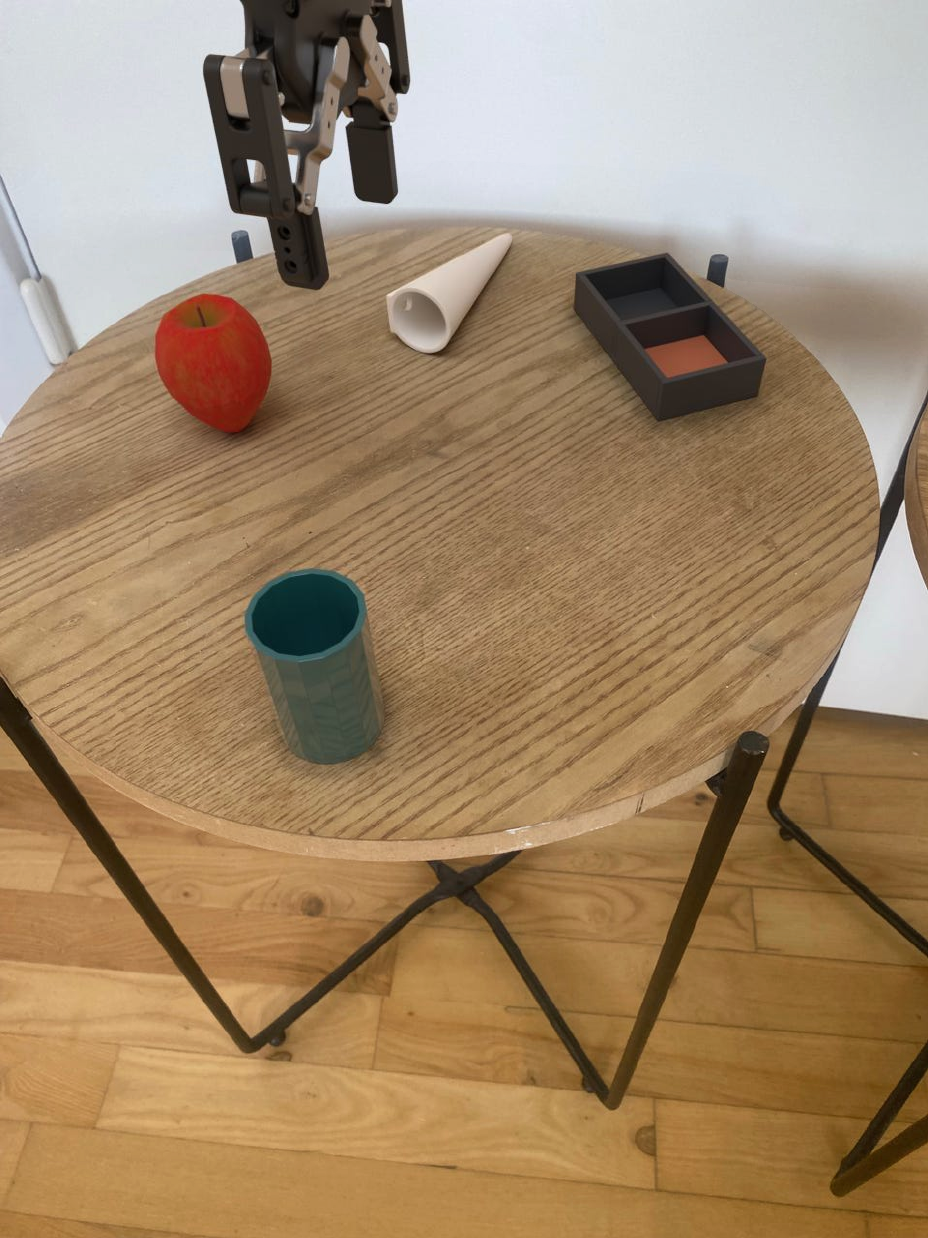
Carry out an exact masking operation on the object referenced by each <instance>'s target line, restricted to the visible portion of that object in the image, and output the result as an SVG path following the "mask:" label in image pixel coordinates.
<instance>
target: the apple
mask: <svg viewBox="0 0 928 1238" xmlns="http://www.w3.org/2000/svg"><path fill="white" fill-rule="evenodd" d="M268 343H269V342H268V341H267V339H266V336H265V335H264V333H263V330H262V329H261V326H260V324H259V322H258V320H257V319H256V318H255V317H254V316H253V314H252V313H250V312H249V311H248V310H247V308H245V307H244V306H242V305H241V304H240V303H239V302H238V301H236V300H235V299H234V298H233V297H229V296H225V295H221V294H213V293H200V294H198V295H194V296H191V297H189V298H188V299H186V300H184V301H181V302H180V303H178V304H177V305H176V306H174V307H173V308H171V309H170V310H168V311H167V312H165V313H163V315H162V318H161V320H160V323H159V326H158V327H157V329H156V331H155V335H154V361H155V364H156V365H155V366H156V368H157V372H158V376H159V377H160V380H161V382H162V383H163V385H164V387H165V389H166V390H167V391H168V393H169V395H170V396H171V397H172V398H173V399H174V400H175V401H176V403H178V404H179V405H180V406H181V407H182V408H183V409H184V410H186V412H187V413H189V414H190V415H191V416H193V417H194V418H196V419H197V420H199V421H200V422H202V423H204V424H206V425H207V426H209V427H212V428H213V429H217V430H219V431H221V432H224V433H228V434H233V433H239V432H240V431H242V430H244V429H246V427H248V425H249V424H250V423H251V421H252V419H253V418H254V416H255V415H256V413H257V412H258V410H259V408H260V406H261V404H262V403H263V401H264V399H265V397H266V395H267V392H268V390H269V385H270V382H271V378H272V370H273V369H272V368H273V367H272V366H273V365H272V364H273V360H272V356H271V352H270V347H269V344H268Z"/></svg>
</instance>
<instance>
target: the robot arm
mask: <svg viewBox="0 0 928 1238" xmlns="http://www.w3.org/2000/svg"><path fill="white" fill-rule="evenodd" d="M239 2H240V4H241V5H242V8H243V18H244V49H242V50H241V51H240V52H238V53H237V54H235V55H227V54H226V55H224V54H216V53H215V54H214V53H209V54H207V55H206V56H205V58H204V60H203V64H202V75H203V81H204V86H205V91H206V96H207V101H208V106H209V112H210V115H211V120H212V125H213V130H214V135H215V140H216V145H217V150H218V154H219V159H220V164H221V168H222V174H223V180H224V184H225V189H226V193H227V200H228V203H229V207H230V210H231V212H232V213H234V214H238V215H244V216H245V215H246V216H252V217H260V218H266V220H267V225H268V229H269V233H270V234H269V235H270V238H271V243H272V248H273V251H274V257H275V261H276V267H277V271H278V272H277V273H278V274H279V276H280V279H281V280H282V282H283V283H284V284H285V285H286V286H289V287H292V288H293V287H294V288H299V289H307V290H311V291H319V290H321V289H322V288H323V287H324V286H325V284H327V282H328V281H329V278H330V272H329V271H330V270H329V267H328V266H329V264H328V259H327V253H326V247H325V240H324V235H323V228H322V224H321V217H320V211H319V207H318V206H316V203H317V195H318V187H319V180H320V179H319V178H320V170H321V165H322V162H323V161H325V160H327V159H328V158H329V157H331V155H332V153H333V150H334V142H335V134H336V125H337V120H338V119H339V118H340V116H341V114H342V113H343V115H344V116H345V117H346V118H347V119H353V120H350V121H349V123H347V124H346V125H345V134H346V142H347V148H348V149H347V150H348V158H349V164H350V172H351V179H352V186H353V187H352V188H353V193H354V196H355V197H356V198H357V199H358V200H360V201H361V202H366V203H373V204H381V205H390V204H392V202H393V201H394V199H396V197H397V196H398V193H399V184H398V176H397V175H398V174H397V165H396V156H395V145H394V135H393V125H391V123H395V122H396V120H397V117H398V111H399V102H398V98H397V95H400V94H401V95H406V94H407V95H408V92H409V90H410V85H411V71H410V63H409V53H408V51H409V50H408V43H407V34H406V26H405V25H406V23H405V15H404V5H403V0H239ZM380 44H384V45H385V46H386V47H387V51H388V59H389V61H388V60H387V58H386V55H385V53H384V51H383V49H382V47H381V45H380ZM283 118H284V119H285V120H287V122H288V123H290V124H291V123H292V124H298V125H299V124H300V125H308V127H307V128H306V129H303V130H293V129H286V128H284V121H283ZM289 155H291V156H297V163H296V169H295V179H294V181H293V180H292V172H291V168H290V160H289ZM248 160H249V161H255V163H254V173H253V174H254V175H253V181H252V182H251V175H250V170H249V164H248Z"/></svg>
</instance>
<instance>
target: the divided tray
mask: <svg viewBox="0 0 928 1238" xmlns="http://www.w3.org/2000/svg"><path fill="white" fill-rule="evenodd" d="M573 310H574V312H575V313H576V314H577V315H578V318H580V320H581V321H582V322H583V324H584V325H585V326H586V327H587V329H588V331H589V332H590V333H591V334H592V335H593V337H594V339H595V340H596V341H597V342H598V344H599V345H600V346H601V348H602V349H603V351H605V353H606V354H607V356H608V357H609V358H610V360H611V361H612V362H613V364H614V365H615V367H616V368H617V369H618V370H619V372H620V373H621V374H622V375H623V377H624V378H625V379H626V381H627V382H628V384H629V385H630V386H631V388H632V389H633V390H634V391H635V393H636V394H637V396H638V397H639V398H640V400H641V401H642V402H643V403H644V405H645V406H646V407H647V409H648V410H649V411H650V413H651V414H652V415H653V417H654V418H655V419H656V421H657V422H662V421H665V420H670V419H673V418H676V417H681V416H684V415H688V414H693V413H696V412H700V411H704V410H708V409H712V408H716V407H720V406H724V405H728V404H731V403H736V402H740V401H744V400H748V399H751V398H757V397H758V396H759V392H760V388H761V387H760V386H761V384H762V380H763V375H764V371H765V367H766V363H767V362H766V361H767V357H766V356H765V354H763V352H761V351H760V349H759V348H758V347H757V346H756V345H755V344H754V343H753V342H752V340H751V339H749V338H748V337H747V335H745V333H744V332H743V331H742V330H741V329H740V327H738V325H737V324H736V323H735V322H734V321H733V320H731V318H730V317H729V316H728V314H726V313H725V312H724V310H723V309H722V308H721V307H719V306H718V304H716V302H715V301H714V300H713V299H712V298H711V297H710V296H709V295H708V294H707V292H705V290H704V289H703V288H702V287H701V286H700V285H699V284H698V283H697V282H696V281H695V280H694V279H693V278H692V277H691V276H690V275H689V273H688V272H687V271H686V270H685V269H684V268H683V267H682V266H681V265H680V263H678V261H677V260H675V258H674V257H673V256H672V255H671V254H670V253H669V252H664V253H658V254H654V255H650V256H649V255H648V256H646V257H641V258H636V259H631V260H626V261H623V262H617V263H613V264H608V265H605V266H600V267H595V268H590V269H587V270H582V271H576V272H575V281H574V299H573Z"/></svg>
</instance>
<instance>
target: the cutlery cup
mask: <svg viewBox="0 0 928 1238" xmlns="http://www.w3.org/2000/svg"><path fill="white" fill-rule="evenodd" d="M243 617H244V631H245V635H246V638H247V641H248V644H249V647H250V650H251V653H252V656H253V658H254V662H255V665H256V668H257V672H258V674H259V678H260V679H261V682H262V686H263V689H264V691H265V695H266V697H267V701H268V703H269V706H270V709H271V712H272V715H273V719H274V721H275V724H276V727H277V730H278V733H279V734H280V736H281V738H282V741H283V742H284V745H285V746H286V747H287V748H288V750H289V751H290V752H291V753H293V754H294V755H296V756H297V757H298V758H300V759H302V760H304V761H307V762H309V763H314V764H319V765H321V764H322V765H334V764H339V763H343V762H347V761H350V760H352V759H355V758H356V757H358V756H361V755H362V754H363V753H365V752H366V751H367V750H369V748H370V747H371V746H373V745H374V743H376V741H377V739H378V738H379V736H380V734H381V732H382V730H383V728H384V724H385V721H386V720H385V718H386V713H385V712H386V711H385V705H384V699H383V693H382V687H381V681H380V677H379V671H378V665H377V659H376V654H375V649H374V642H373V638H372V631H371V627H370V620H369V614H368V609H367V604H366V598H365V594H364V592H363V591H362V590H361V589H360V587H359V586H358V585H357V584H356V583H355V582H354V580H353V579H351V578H349V577H348V576H345V575H343V574H341V573H340V572H338V571H335V570H330V569H323V568H314V567H311V568H310V567H309V568H304V569H298V570H292V571H288V572H285V573H284V574H282V575H280V576H277V577H275V578H273V579H271V580H269V581H267V582H266V583H265V584H264V585H263V586H262V587H261V588H260V589H259V590H258V591H257V592H256V593H255V594H254V595H252V597H251V599H250V601H249V603H248V606H247V608H246V610H245V612H244V616H243Z"/></svg>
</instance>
